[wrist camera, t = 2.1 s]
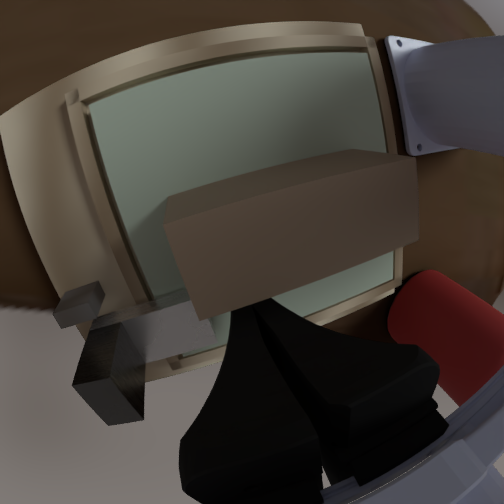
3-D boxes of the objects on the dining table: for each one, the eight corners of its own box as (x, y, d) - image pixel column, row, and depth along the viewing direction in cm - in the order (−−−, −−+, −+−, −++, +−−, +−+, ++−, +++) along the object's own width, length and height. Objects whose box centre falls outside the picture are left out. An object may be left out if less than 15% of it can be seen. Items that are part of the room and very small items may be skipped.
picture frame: (341, 33, 12) (384, 13, 8) (377, 279, 19) (413, 307, 15) (17, 119, 10) (-26, 116, 6) (122, 366, 16) (116, 413, 13)
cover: (355, 57, 11) (427, 35, 6) (382, 271, 16) (439, 313, 11) (95, 107, 9) (45, 88, 5) (182, 344, 14) (191, 420, 10)
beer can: (432, 319, 23) (517, 393, 12) (379, 347, 22) (466, 445, 11) (443, 256, 20) (554, 327, 9) (386, 281, 19) (511, 383, 8)
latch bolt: (197, 285, 12) (210, 351, 8) (214, 329, 13) (232, 398, 9) (94, 317, 11) (71, 385, 7) (117, 356, 12) (108, 425, 8)
